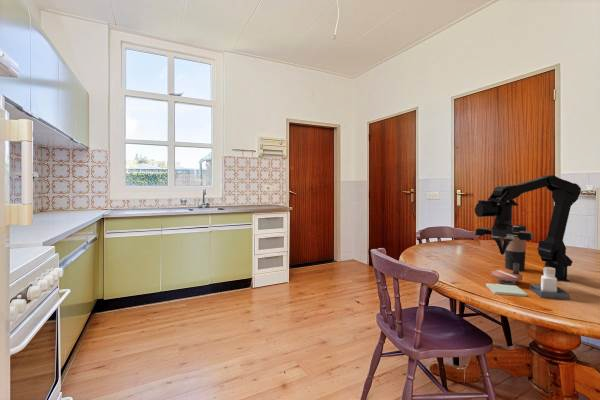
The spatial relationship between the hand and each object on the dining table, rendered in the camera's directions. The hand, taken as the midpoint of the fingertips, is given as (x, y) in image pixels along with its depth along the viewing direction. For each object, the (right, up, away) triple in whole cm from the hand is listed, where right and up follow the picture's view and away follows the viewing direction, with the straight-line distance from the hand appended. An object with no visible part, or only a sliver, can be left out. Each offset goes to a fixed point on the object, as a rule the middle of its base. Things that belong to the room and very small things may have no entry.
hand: (502, 254), depth 119 cm
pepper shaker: (+5, -11, -16) cm, 20 cm away
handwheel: (-1, -8, -3) cm, 9 cm away
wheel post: (-1, -11, -3) cm, 11 cm away
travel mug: (+16, -10, +15) cm, 24 cm away
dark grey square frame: (+5, -11, -16) cm, 20 cm away
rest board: (-7, -11, -12) cm, 18 cm away
